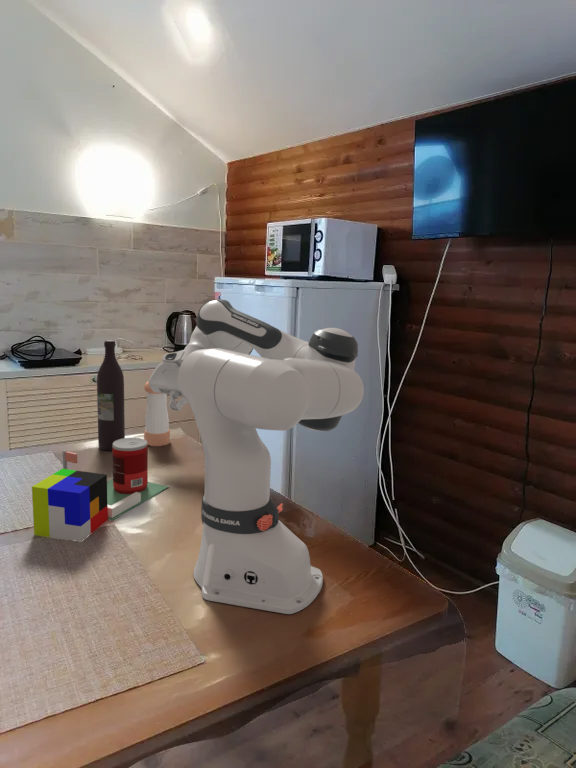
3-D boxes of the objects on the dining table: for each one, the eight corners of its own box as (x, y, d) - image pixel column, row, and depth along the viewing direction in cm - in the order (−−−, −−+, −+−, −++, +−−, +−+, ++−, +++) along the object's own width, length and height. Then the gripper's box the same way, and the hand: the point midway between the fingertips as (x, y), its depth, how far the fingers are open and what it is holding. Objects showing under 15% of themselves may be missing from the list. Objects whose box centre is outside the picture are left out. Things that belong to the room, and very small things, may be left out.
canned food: (153, 483, 141) (152, 439, 139) (138, 496, 133) (138, 449, 131) (122, 479, 142) (122, 435, 140) (107, 492, 134) (106, 446, 132)
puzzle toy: (81, 542, 112) (79, 493, 110) (34, 535, 114) (31, 486, 112) (107, 520, 122) (106, 474, 120) (63, 514, 124) (62, 468, 122)
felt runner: (168, 487, 140) (168, 486, 140) (111, 520, 122) (111, 519, 122) (120, 476, 145) (120, 475, 145) (59, 506, 127) (59, 505, 127)
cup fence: (140, 501, 131) (140, 449, 128) (112, 517, 122) (111, 462, 120) (92, 489, 136) (91, 439, 133) (62, 504, 127) (60, 451, 125)
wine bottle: (96, 444, 167) (93, 339, 160) (122, 442, 170) (120, 338, 164) (100, 452, 161) (98, 343, 154) (127, 449, 164) (125, 342, 157)
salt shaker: (146, 447, 167) (145, 380, 163) (142, 439, 173) (141, 375, 169) (172, 445, 169) (172, 379, 165) (167, 437, 176) (167, 374, 172)
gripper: (233, 376, 155) (213, 421, 148) (168, 367, 163) (146, 409, 156) (225, 362, 150) (204, 408, 144) (158, 353, 158) (135, 396, 151)
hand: (173, 408), depth 150 cm, fingers closed
